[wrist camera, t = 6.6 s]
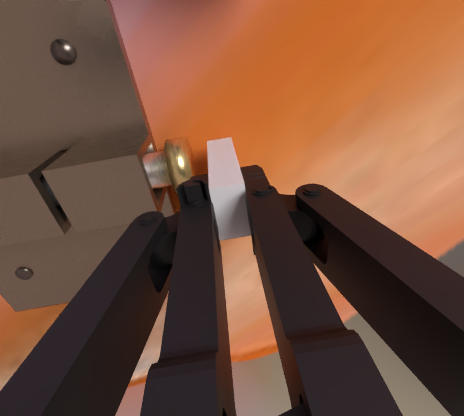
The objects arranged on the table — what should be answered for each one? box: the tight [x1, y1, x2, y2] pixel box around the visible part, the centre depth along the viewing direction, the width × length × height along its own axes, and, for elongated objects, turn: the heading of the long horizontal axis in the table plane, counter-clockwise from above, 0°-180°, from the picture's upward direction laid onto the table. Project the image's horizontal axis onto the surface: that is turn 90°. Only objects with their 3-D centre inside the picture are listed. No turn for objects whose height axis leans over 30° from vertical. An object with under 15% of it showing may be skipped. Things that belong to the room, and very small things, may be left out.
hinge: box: [0, 0, 176, 311], centre depth 17 cm, size 16×22×4 cm
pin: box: [39, 137, 196, 206], centre depth 17 cm, size 17×3×3 cm, turn 99°
